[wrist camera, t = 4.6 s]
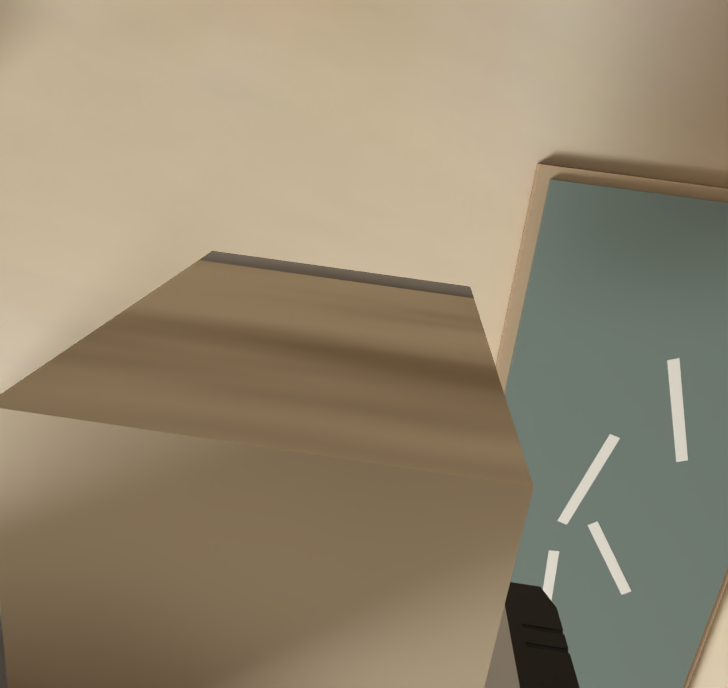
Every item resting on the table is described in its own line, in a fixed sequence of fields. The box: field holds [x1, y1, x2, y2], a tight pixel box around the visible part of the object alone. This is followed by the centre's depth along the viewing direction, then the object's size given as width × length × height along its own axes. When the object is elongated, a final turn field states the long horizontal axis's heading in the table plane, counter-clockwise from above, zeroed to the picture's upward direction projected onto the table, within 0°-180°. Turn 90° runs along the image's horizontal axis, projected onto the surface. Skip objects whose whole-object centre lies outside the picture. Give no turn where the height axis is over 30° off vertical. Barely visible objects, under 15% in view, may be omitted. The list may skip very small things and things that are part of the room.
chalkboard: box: [496, 163, 728, 688], centre depth 30 cm, size 27×13×1 cm, turn 173°
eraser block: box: [0, 251, 534, 688], centre depth 13 cm, size 10×6×8 cm, turn 173°
